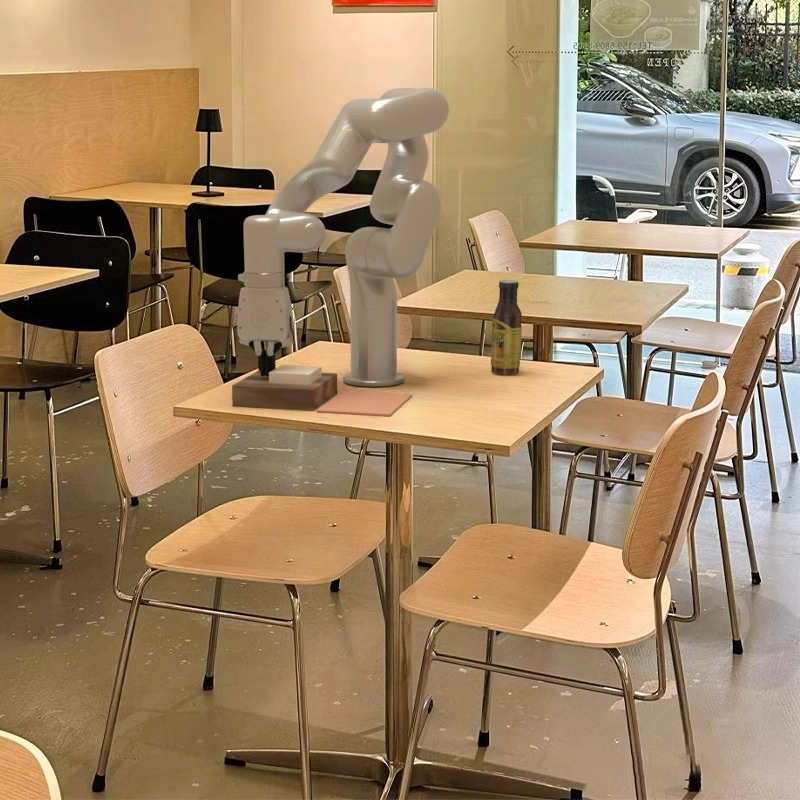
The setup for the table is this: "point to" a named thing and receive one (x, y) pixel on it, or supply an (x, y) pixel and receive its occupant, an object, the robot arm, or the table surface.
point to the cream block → (295, 374)
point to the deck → (283, 393)
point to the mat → (365, 403)
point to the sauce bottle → (506, 331)
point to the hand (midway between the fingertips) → (267, 374)
